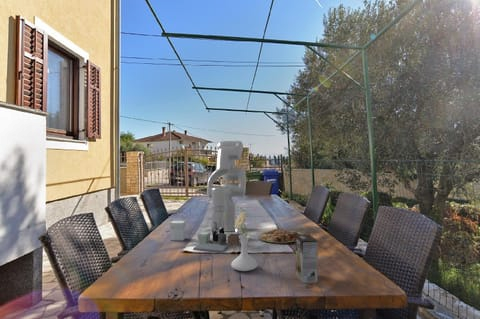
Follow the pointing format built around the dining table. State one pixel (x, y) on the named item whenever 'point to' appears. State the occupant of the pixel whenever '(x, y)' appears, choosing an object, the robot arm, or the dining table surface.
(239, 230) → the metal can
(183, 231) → the small box
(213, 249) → the slate mat
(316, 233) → the dining table surface
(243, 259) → the flower in vase
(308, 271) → the coffee box
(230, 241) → the walnut block
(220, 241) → the dice cube
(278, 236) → the rice dish
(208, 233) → the sage block
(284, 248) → the dining table surface
